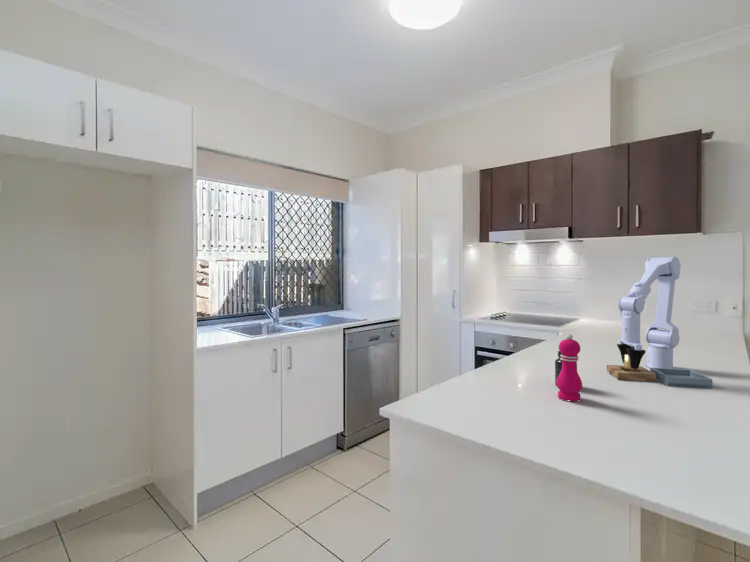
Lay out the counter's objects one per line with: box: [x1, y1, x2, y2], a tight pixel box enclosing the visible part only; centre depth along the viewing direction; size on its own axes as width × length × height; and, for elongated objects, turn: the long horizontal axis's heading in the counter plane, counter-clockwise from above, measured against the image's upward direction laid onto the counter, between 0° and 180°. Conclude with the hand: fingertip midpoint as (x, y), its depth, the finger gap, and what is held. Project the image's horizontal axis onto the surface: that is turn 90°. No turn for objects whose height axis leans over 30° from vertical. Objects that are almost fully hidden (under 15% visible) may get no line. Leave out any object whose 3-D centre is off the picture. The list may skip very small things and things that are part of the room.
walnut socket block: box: [606, 364, 657, 383], centre depth 146 cm, size 12×12×2 cm
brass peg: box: [623, 354, 637, 372], centre depth 146 cm, size 4×4×8 cm
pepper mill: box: [555, 333, 583, 402], centre depth 122 cm, size 7×7×20 cm
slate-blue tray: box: [649, 368, 713, 389], centre depth 139 cm, size 13×13×3 cm
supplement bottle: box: [554, 350, 562, 387], centre depth 134 cm, size 7×7×12 cm
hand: (630, 365), depth 146 cm, fingers open, 7 cm apart
